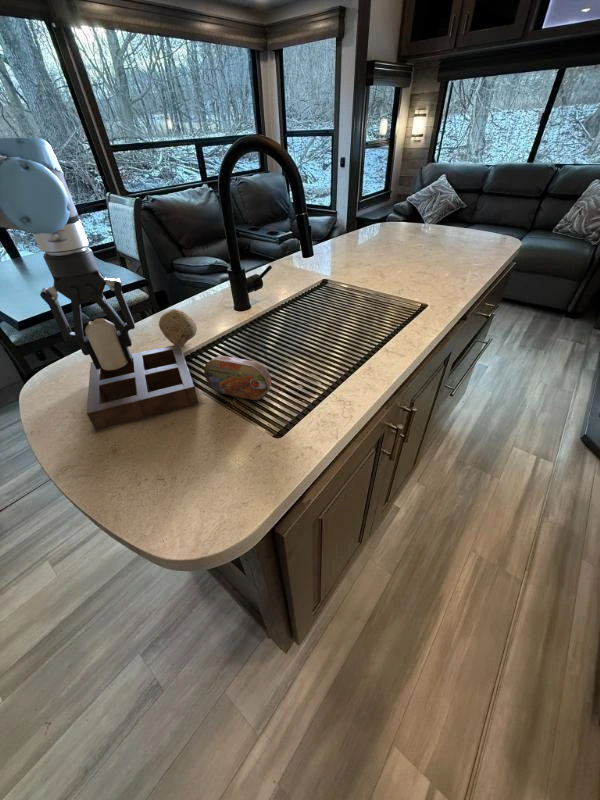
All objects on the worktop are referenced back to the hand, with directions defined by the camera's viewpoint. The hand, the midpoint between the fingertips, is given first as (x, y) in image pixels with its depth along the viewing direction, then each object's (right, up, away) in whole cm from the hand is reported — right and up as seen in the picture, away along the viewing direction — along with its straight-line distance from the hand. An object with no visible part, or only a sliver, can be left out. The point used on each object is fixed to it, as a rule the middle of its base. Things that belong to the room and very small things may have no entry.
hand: (114, 362), depth 72 cm
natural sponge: (+9, +7, +18) cm, 22 cm away
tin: (+27, -7, +1) cm, 28 cm away
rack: (+6, -6, +2) cm, 9 cm away
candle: (0, 0, 0) cm, 0 cm away
